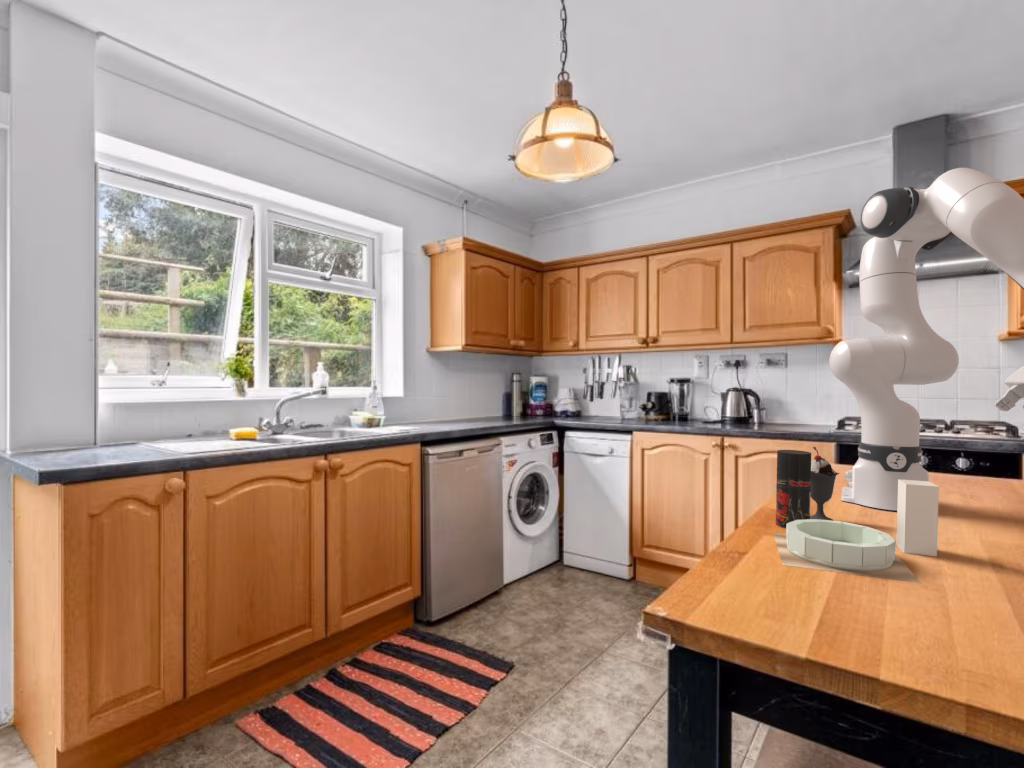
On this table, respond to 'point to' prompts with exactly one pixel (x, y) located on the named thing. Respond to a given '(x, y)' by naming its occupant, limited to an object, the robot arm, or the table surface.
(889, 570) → the cork mat
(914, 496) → the tall white box
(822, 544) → the bowl
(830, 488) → the sundae
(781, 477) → the deodorant
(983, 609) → the table surface
